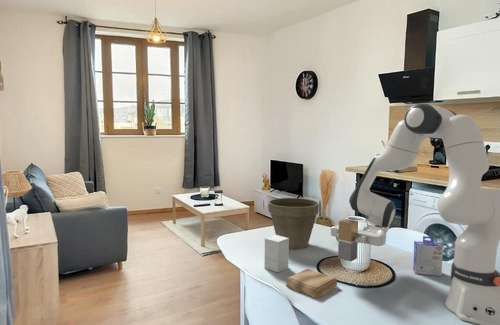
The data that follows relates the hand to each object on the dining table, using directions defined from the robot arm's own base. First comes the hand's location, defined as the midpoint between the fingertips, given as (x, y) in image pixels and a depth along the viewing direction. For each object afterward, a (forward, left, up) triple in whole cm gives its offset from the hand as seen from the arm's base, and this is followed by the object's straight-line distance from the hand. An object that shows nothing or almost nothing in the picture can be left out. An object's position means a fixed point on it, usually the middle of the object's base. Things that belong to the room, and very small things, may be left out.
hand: (346, 238), depth 128 cm
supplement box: (+27, +7, -17) cm, 33 cm away
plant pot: (+41, -22, -17) cm, 50 cm away
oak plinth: (+7, +11, -17) cm, 22 cm away
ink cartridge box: (-18, -34, -17) cm, 42 cm away
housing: (0, -1, -8) cm, 8 cm away
